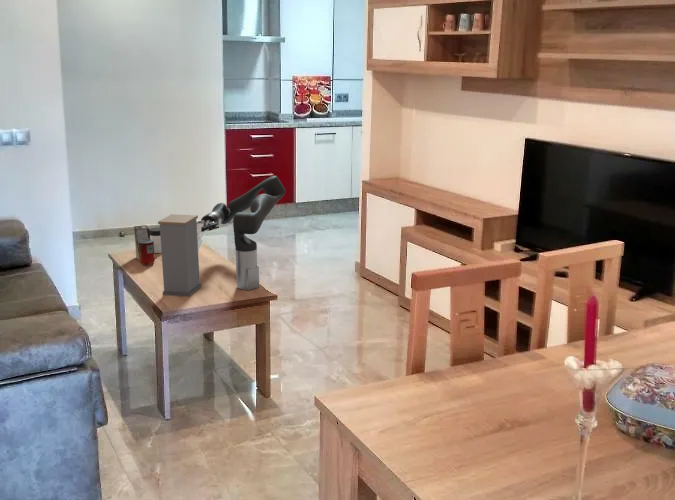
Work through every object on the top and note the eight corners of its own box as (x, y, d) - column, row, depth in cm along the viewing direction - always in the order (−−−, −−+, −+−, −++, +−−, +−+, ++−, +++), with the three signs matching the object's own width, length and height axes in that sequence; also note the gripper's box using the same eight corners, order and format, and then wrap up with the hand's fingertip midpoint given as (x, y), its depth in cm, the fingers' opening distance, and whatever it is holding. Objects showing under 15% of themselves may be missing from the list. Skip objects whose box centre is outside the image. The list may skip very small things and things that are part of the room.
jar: (148, 254, 368) (146, 231, 365) (150, 250, 376) (148, 227, 372) (166, 253, 369) (164, 230, 366) (167, 249, 377) (166, 227, 374)
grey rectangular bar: (196, 255, 319) (194, 250, 317) (185, 255, 320) (184, 250, 318) (208, 226, 332) (206, 221, 330) (198, 225, 333) (196, 220, 331)
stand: (189, 296, 304) (185, 222, 296) (162, 294, 306) (157, 221, 298) (201, 286, 318) (197, 215, 309) (175, 284, 320) (171, 214, 311)
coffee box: (152, 260, 357) (149, 228, 353) (139, 261, 355) (136, 230, 350) (148, 255, 365) (146, 224, 361) (135, 257, 363) (133, 226, 358)
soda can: (158, 263, 352) (156, 239, 348) (147, 267, 346) (145, 242, 343) (147, 261, 355) (145, 237, 352) (137, 265, 349) (135, 240, 346)
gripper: (225, 229, 343) (213, 238, 327) (197, 227, 346) (184, 236, 329) (225, 213, 341) (212, 222, 325) (196, 212, 344) (183, 220, 327)
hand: (198, 229), depth 327 cm, fingers closed on grey rectangular bar, 3 cm apart
